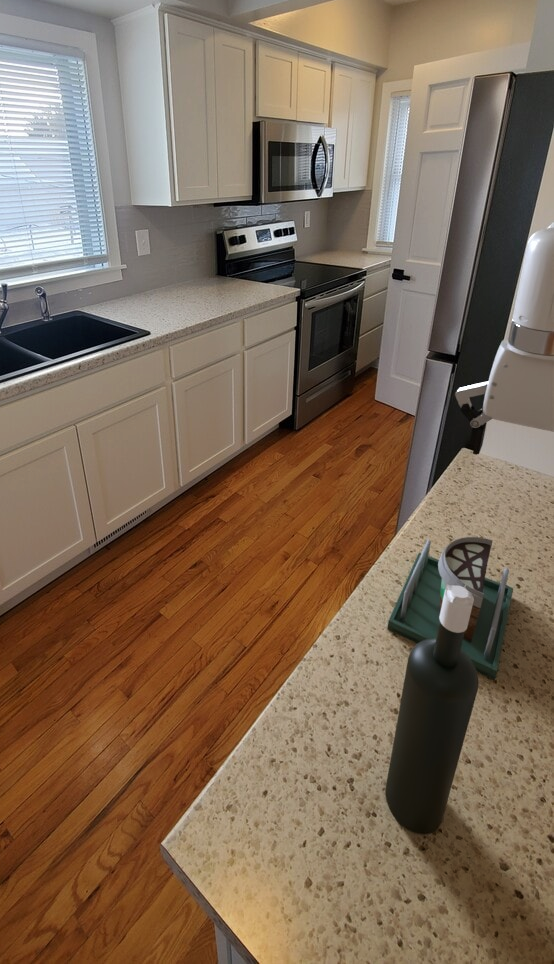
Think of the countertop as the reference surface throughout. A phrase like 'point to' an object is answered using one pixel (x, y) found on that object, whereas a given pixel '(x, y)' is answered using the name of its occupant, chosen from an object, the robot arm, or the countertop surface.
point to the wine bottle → (432, 719)
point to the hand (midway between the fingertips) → (517, 459)
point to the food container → (466, 572)
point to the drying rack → (421, 613)
